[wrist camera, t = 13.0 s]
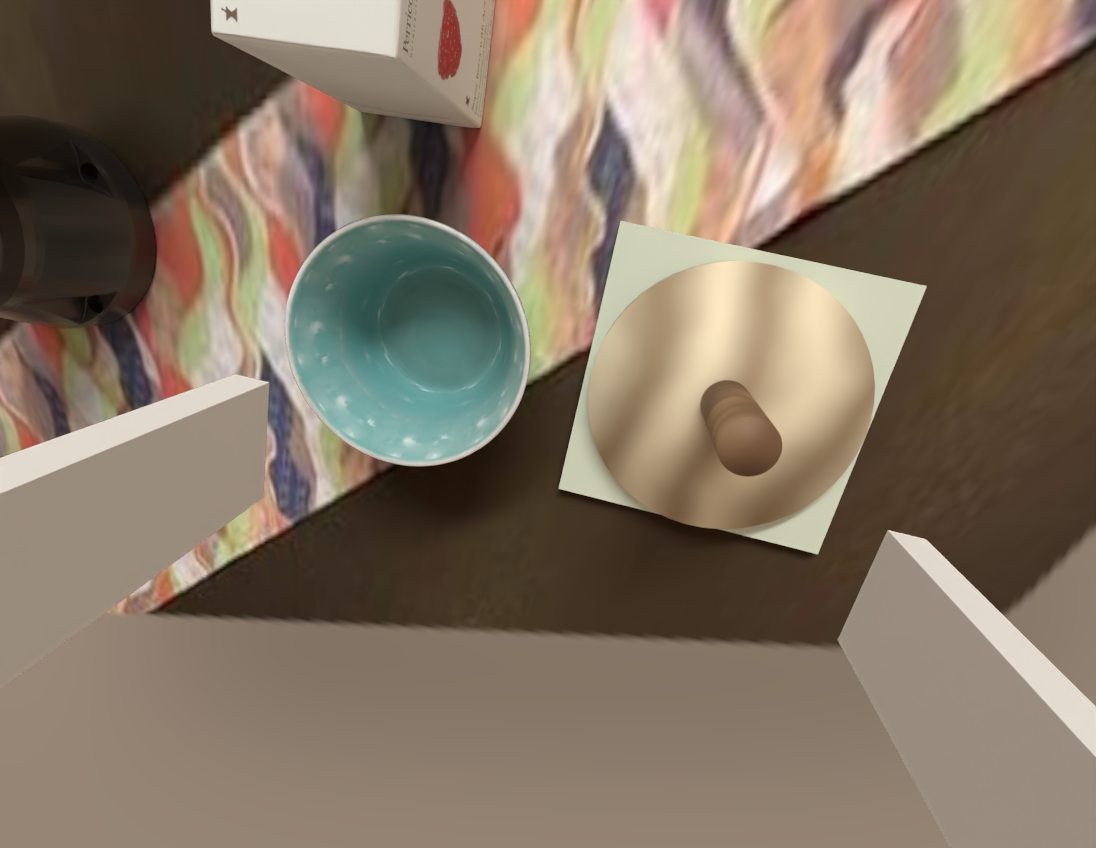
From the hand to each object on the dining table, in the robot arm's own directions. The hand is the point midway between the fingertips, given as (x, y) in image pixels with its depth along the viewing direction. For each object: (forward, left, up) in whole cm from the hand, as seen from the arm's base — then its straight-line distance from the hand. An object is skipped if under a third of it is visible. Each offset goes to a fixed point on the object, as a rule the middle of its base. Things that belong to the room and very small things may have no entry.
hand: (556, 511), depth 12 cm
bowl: (-12, -3, -31) cm, 33 cm away
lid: (+9, -3, -30) cm, 31 cm away
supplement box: (-16, +15, -31) cm, 38 cm away
